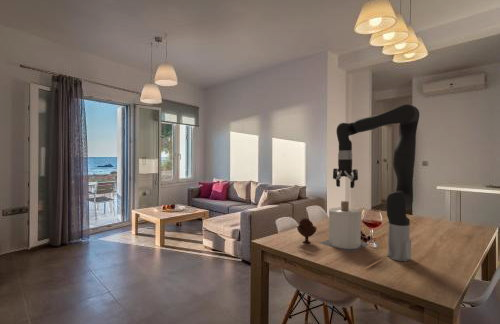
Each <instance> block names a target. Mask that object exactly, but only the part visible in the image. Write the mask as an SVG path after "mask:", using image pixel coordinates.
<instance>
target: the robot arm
mask: <svg viewBox="0 0 500 324" xmlns="http://www.w3.org/2000/svg"><path fill="white" fill-rule="evenodd" d="M419 119H420V110H419V109H418V108H417V107H416V106H414V105H411V104H407V103H405V104H402V105H399V106H397V107H394V108H393V109H390V110H388V111H385V112H382V113H378V114H375V115H370V116H368V117H363V118H359V119H356V120H354V121H353V122H341V123H339V124H338V125H337V127H336V137H337V141H338V154H337V159H338V160H337V166H338V168H333V169H332V170H333V171H332V179H333V180H335V183H336V184H335V185H336V187H338V188H339V187H340V188H341V178H343V177H345V178H348V179H349V180H350V182H349V183H350V189H353V188H355V183H356V181H358V180H359V173H358V172H359V171H358V169H353V146H352V145H353V143H352V140H350V136H354V135H356V134H359V133H364V132H368V131H372V130H375V129H378V128H380V127H383V126H387V125H394V124H399V134H398V138H397V141H396V144H395V146H394V148H393V158H392V159H393V160H392V165H393V170H394V172H395V176H396V190H395V191H392V192H390V193H388V195H387V197H386V217H387V221H388V230H387V231H388V235H387V236H388V238H387V239H388V240H387V247H388V249H387V255H388V258H390V259H391V260H395V261H399V262H404V263H406V262H409V261H410V260H411V259H412V239H410V232H411V231H410V230H411V227H410V226H411V225H410V224H411V222H410V221H411V220H410V218H409V217H408V216H407V209H409V208H411V207H412V205H413V202H414V192H413V191H414V190H413V184H414V183H413V180H414V173H415V172H414V168H415V164H416V163H415V161H416V160H415V159H416V146H417V145H416V142H417V140H416V139H417V138H416V137H417V130H418V125H419Z"/></svg>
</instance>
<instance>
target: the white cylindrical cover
mask: <svg viewBox="0 0 500 324" xmlns="http://www.w3.org/2000/svg"><path fill="white" fill-rule="evenodd" d="M340 202H341V203H340V207H339V206H338V207H331V208H329V209H328V240H329V244H331V245H332V246H335V247H338V248H344V249H355V248H358V247H361V242H362V241H361V235H362V234H361V231H362V229H361V226H362V221H361V220H362V211H361V210H360V209H357V208H351V207H350V206H349V204H350V203H349V200H348V201H347V200H341V201H340Z"/></svg>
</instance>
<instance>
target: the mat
mask: <svg viewBox="0 0 500 324" xmlns="http://www.w3.org/2000/svg"><path fill="white" fill-rule="evenodd" d="M319 244H321V245H324V246H328V247H331V248H334V249H337V250H340V251H345V252H347V253H350V254H351V253H353V252H356V251H359V250H360V249H363V248H366V247H368V246H370V245H371V244H370V243H367V242H364V241H361V247H358V248H355V249H344V248H338V247H335V246H332V245H331V244H329V239H327V240H324V241H321V242H319Z"/></svg>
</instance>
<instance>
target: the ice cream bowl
mask: <svg viewBox="0 0 500 324" xmlns="http://www.w3.org/2000/svg"><path fill="white" fill-rule="evenodd" d="M296 228H297V232H298V233H299V235H301V236H302V237H305V238H304V240H303V241H302V244H304V245H311V244H312V242H311V241H310V240H309V238H310V237H312V236H314V235H315V233H316V231H317V227H316V226H315V225H314V224H313V222H312V221H311V220H310V219H309V218H307V217H303V218H301V219H300V221H299V225H298V226H297V227H296Z"/></svg>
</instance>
